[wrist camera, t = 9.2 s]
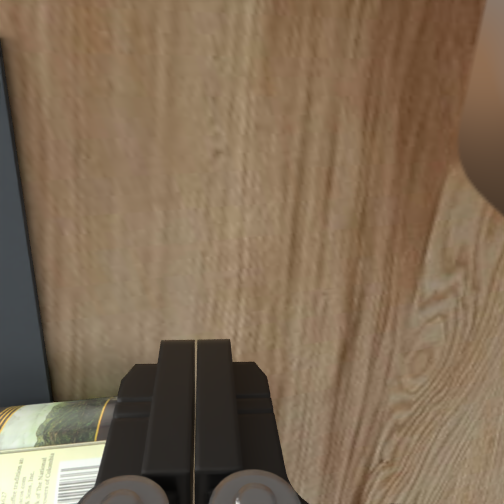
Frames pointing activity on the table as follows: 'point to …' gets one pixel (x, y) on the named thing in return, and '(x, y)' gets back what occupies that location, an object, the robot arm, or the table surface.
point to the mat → (17, 282)
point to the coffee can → (52, 450)
